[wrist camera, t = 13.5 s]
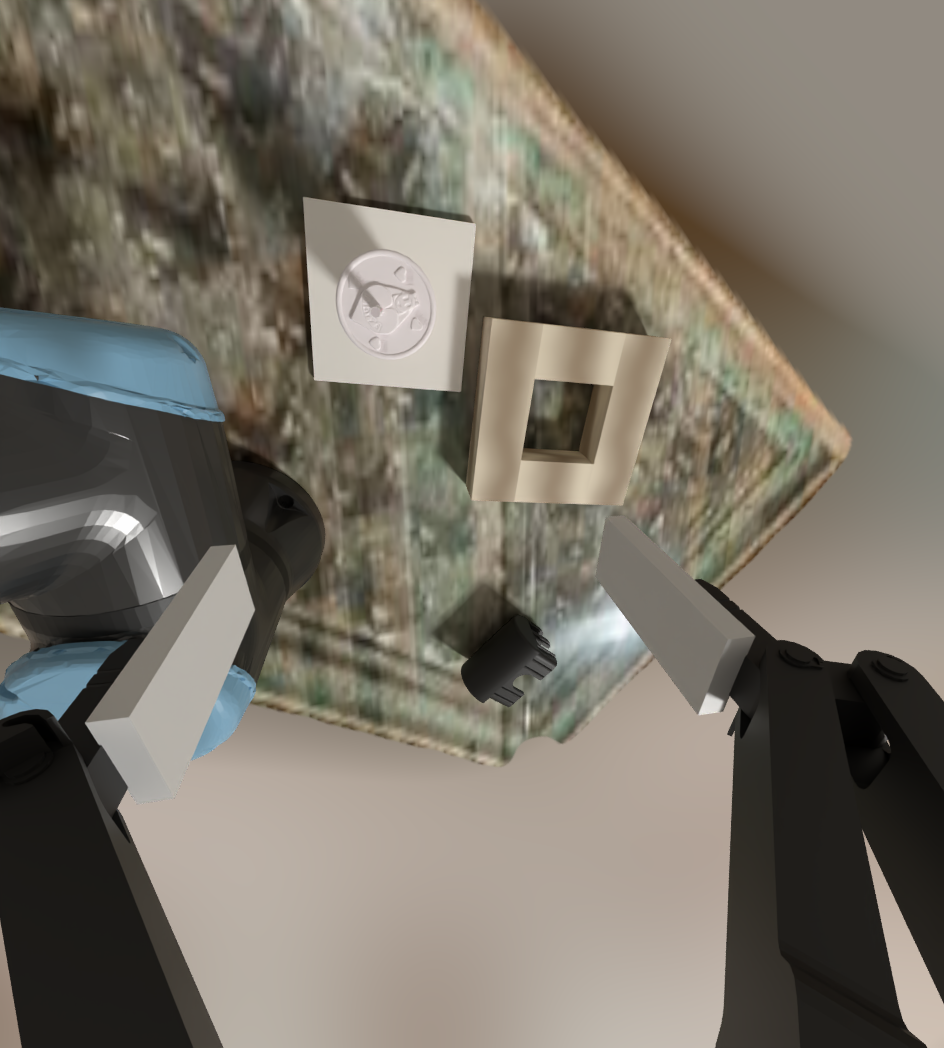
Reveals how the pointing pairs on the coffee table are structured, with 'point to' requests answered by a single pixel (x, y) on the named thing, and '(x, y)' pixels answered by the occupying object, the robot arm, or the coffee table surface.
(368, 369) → the tile
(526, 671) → the end cap
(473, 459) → the frame
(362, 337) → the smoothie
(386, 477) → the coffee table surface
